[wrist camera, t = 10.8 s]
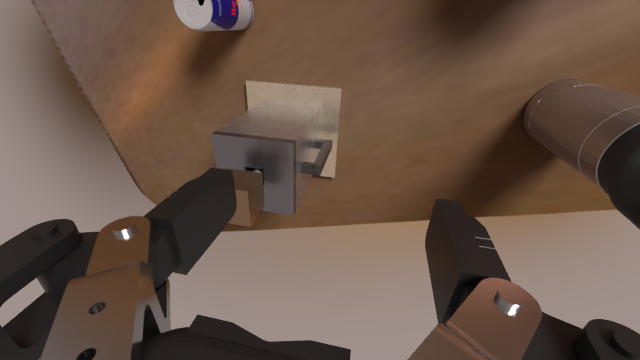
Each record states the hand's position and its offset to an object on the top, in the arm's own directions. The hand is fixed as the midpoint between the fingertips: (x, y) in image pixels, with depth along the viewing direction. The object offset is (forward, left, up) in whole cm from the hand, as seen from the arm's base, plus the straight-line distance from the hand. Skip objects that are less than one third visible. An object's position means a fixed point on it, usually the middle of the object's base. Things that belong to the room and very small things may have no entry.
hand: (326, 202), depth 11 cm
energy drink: (+21, -7, -38) cm, 44 cm away
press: (+12, +11, -38) cm, 41 cm away
